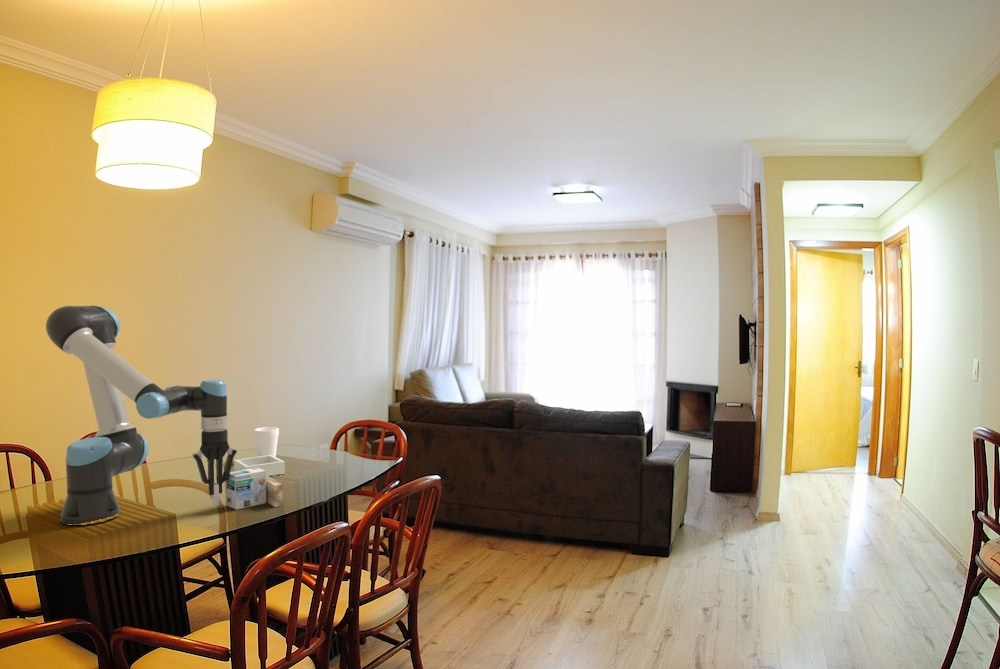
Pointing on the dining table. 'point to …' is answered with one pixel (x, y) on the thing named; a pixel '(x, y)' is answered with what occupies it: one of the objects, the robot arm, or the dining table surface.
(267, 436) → the foam cup
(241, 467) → the frame
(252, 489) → the light bulb box
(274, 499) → the board
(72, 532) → the dining table surface
